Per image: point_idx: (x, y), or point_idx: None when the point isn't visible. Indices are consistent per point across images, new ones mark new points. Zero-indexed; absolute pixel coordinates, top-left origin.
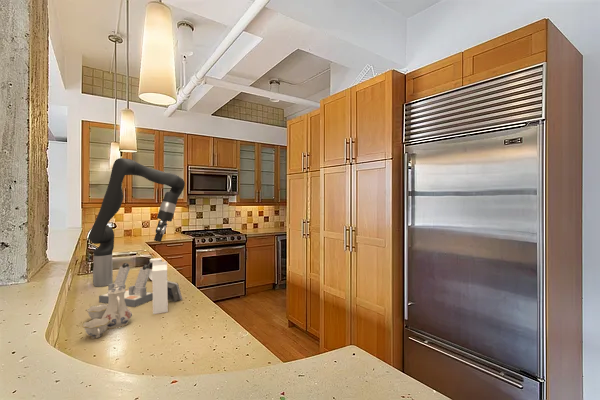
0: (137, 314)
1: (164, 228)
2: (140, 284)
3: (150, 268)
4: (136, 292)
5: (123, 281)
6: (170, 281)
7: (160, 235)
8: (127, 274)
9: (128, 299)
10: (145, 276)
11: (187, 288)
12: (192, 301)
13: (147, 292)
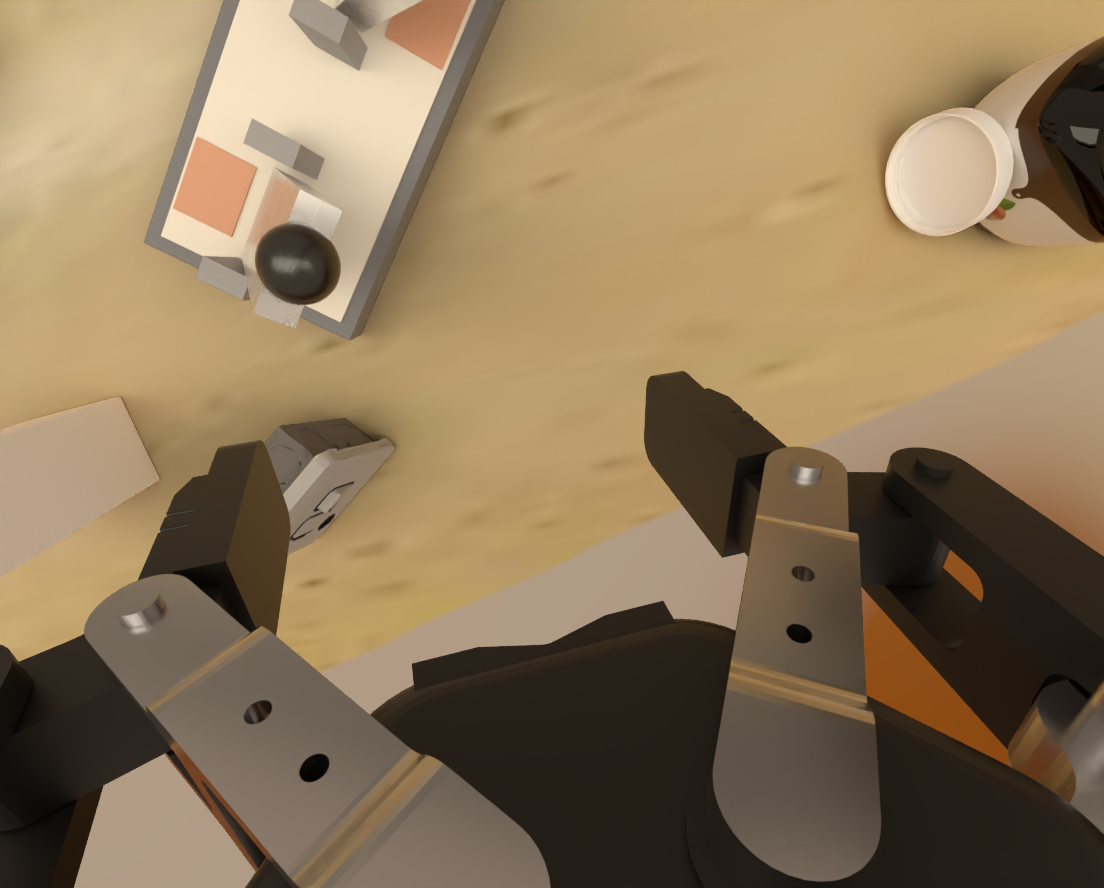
0: (21, 315)
1: (985, 680)
2: (256, 236)
3: (1031, 103)
4: (258, 209)
5: (355, 2)
6: (288, 509)
7: (715, 496)
8: (397, 6)
9: (174, 173)
10: (250, 282)
11: (592, 514)
12: (285, 604)
13: (351, 281)
